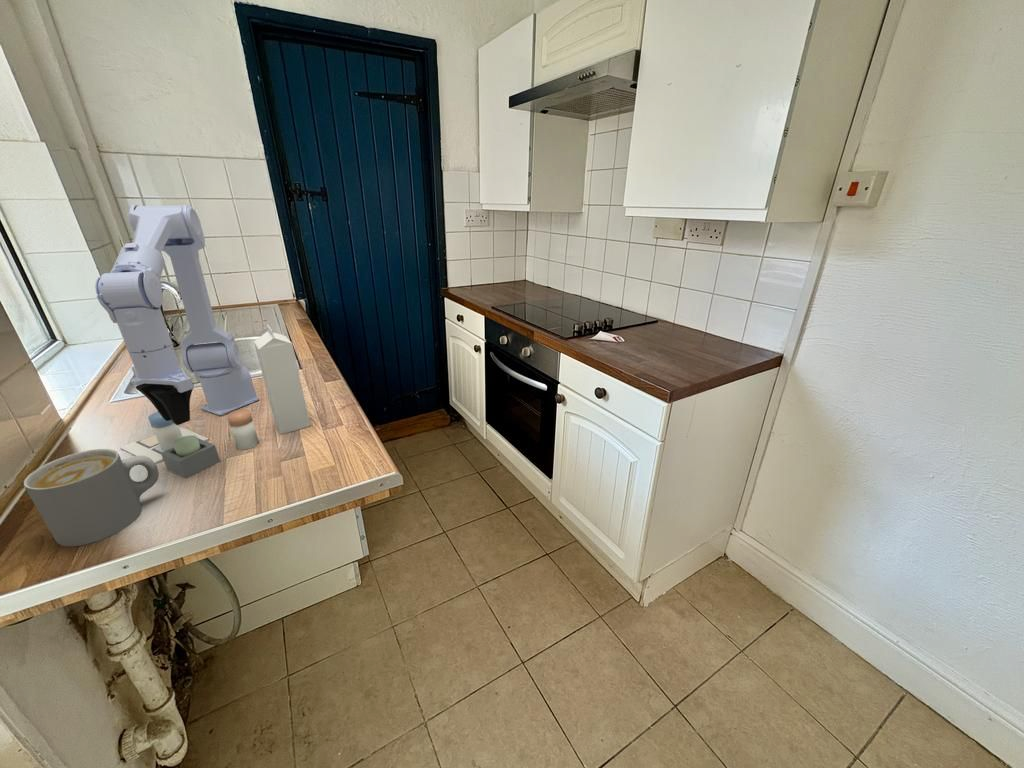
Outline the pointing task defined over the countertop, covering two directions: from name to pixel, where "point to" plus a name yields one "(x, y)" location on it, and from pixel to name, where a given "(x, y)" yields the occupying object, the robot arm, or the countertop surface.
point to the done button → (186, 445)
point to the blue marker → (164, 431)
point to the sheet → (153, 446)
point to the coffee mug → (89, 494)
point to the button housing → (191, 459)
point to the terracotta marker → (243, 429)
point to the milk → (282, 381)
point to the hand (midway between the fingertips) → (177, 420)
